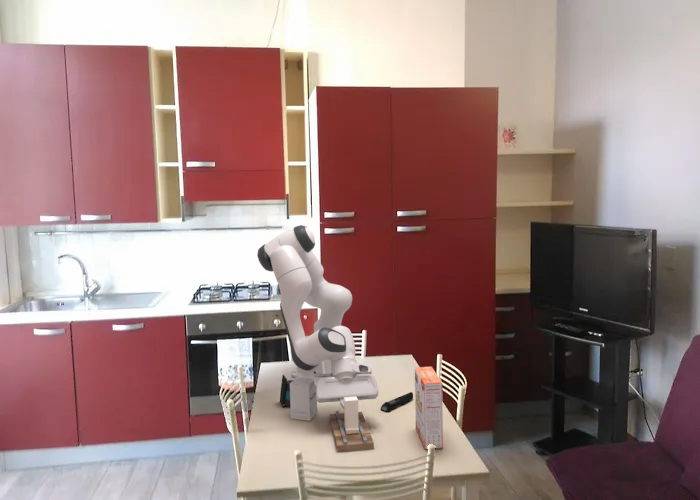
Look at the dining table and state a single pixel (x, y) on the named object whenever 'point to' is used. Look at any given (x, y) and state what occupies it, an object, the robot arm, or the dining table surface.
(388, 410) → the electric trimmer
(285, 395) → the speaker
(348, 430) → the switch tab
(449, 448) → the dining table surface
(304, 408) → the supplement box
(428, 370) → the cracker box
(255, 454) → the dining table surface
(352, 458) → the dining table surface
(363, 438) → the switch track
